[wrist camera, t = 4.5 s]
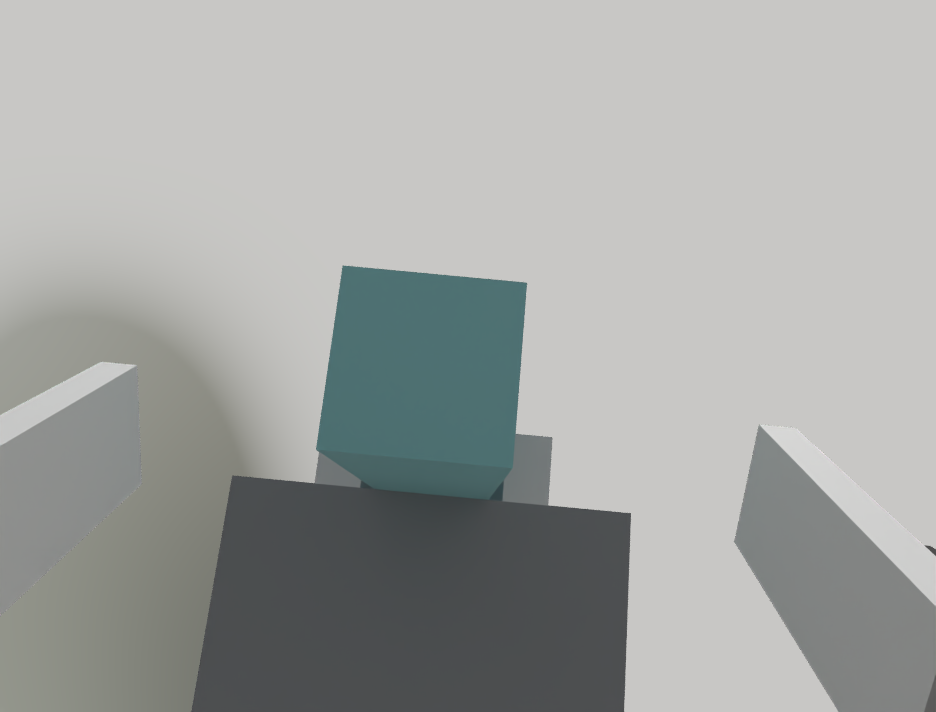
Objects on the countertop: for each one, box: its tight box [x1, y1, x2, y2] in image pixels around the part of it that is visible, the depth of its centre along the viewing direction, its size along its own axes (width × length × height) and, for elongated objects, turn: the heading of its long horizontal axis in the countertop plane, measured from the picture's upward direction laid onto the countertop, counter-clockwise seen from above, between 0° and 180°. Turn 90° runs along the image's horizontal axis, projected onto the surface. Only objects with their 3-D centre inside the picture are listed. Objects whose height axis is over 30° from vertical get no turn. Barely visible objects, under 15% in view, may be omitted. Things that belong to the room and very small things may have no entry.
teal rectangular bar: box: [316, 266, 527, 500], centre depth 28 cm, size 26×4×4 cm, turn 1°
